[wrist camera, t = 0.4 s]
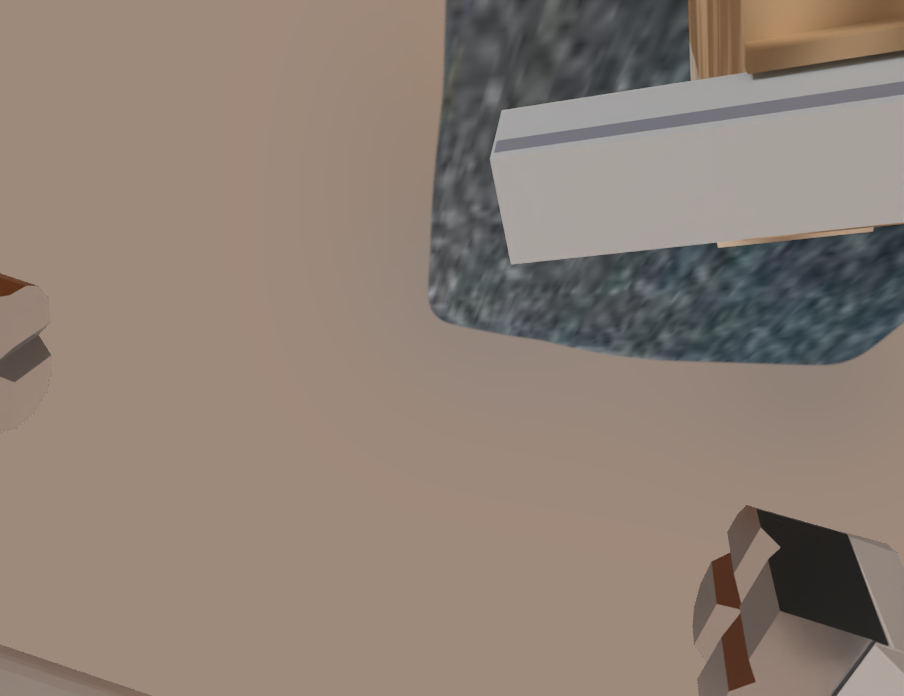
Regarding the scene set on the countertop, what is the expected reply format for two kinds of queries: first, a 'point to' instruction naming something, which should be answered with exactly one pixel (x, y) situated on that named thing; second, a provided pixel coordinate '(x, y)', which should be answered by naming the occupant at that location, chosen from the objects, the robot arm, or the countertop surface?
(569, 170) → the foil carton
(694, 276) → the countertop surface
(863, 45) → the tall wood grain block
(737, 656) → the robot arm
